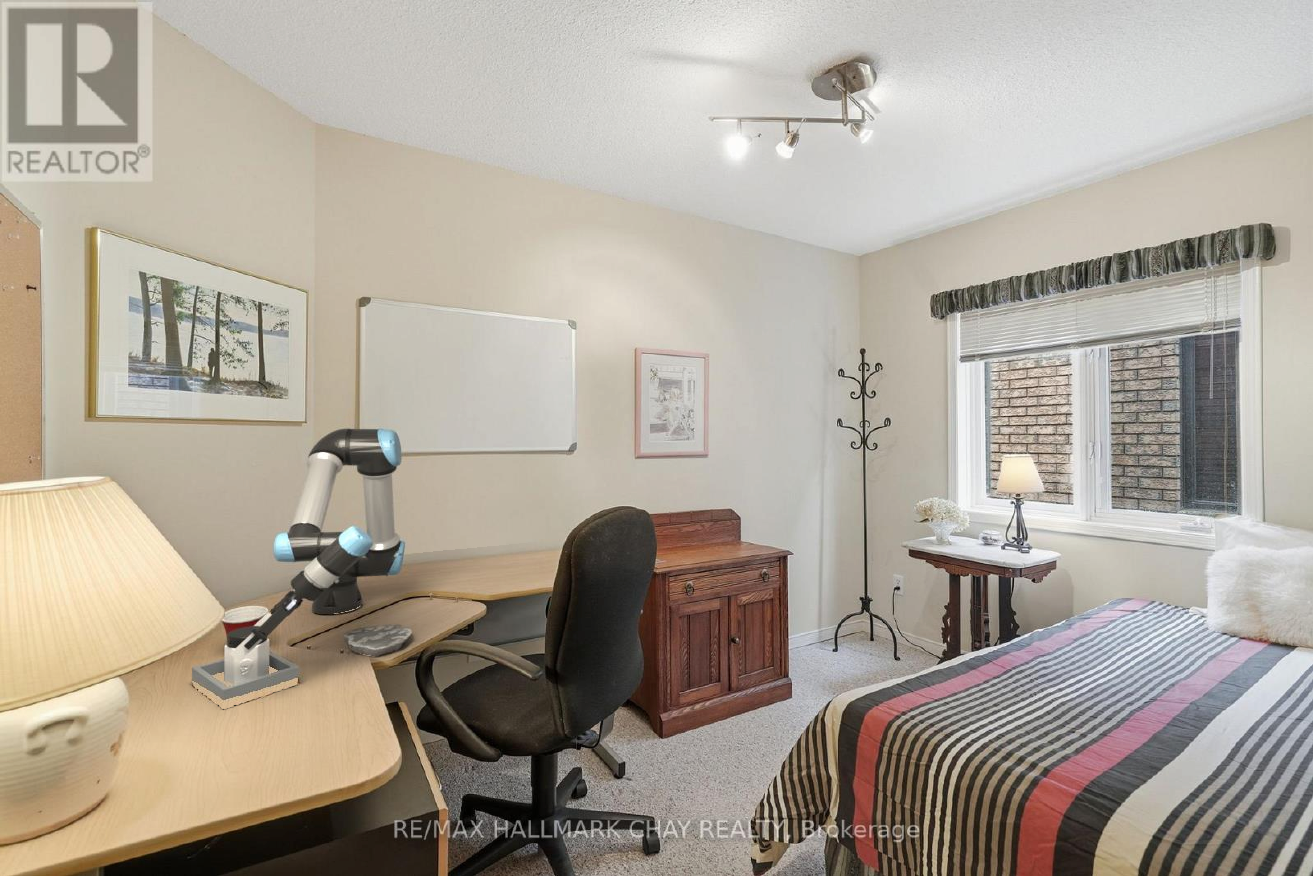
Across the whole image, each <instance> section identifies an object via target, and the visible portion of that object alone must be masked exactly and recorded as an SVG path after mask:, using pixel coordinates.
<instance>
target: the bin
mask: <svg viewBox="0 0 1313 876" xmlns="http://www.w3.org/2000/svg"><path fill="white" fill-rule="evenodd" d="M269 666H270V667H272V668H274V669H276V670H278V671H277V672H274V673H271V674H267V675H264V676H261V677H258V678H254V679H251V680H248V681H245V682H241V683H238V684H235V685H232V686H229V687H227V686H226V685H225V684H223V683H222V682H220V681H219V680H217V679H216V678H214V677H213V676H212V675H215V674H217V673H222V672H224V658H223V659H218V660H214V661H212V662H208V663H204V664H201V665H197V666H194V667H191V682H192V681H194V682H196V683H198V684H199V685H200V686H202V687H204V688H206V689H207V690H209V691H211V692H213V693H214V694H215V695H216V696H219V697H220V698H221V699H222V700H226V699H229V698H233V697H236V696H242V695H244V694H248V693H250V692H253V691H258V690H261V689H263V688H266V687H271V686H274V685H277V684H280V683H281V682H286V681H289V680H292V679H294V678H299V679H300V667H299V666H298V665H297V664H294V663H293V662H291V661H289V660H288V659H285V658H284V657H282V656H280V655H279V654H276V653H275V652H273V651H271V649H269Z"/></svg>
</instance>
